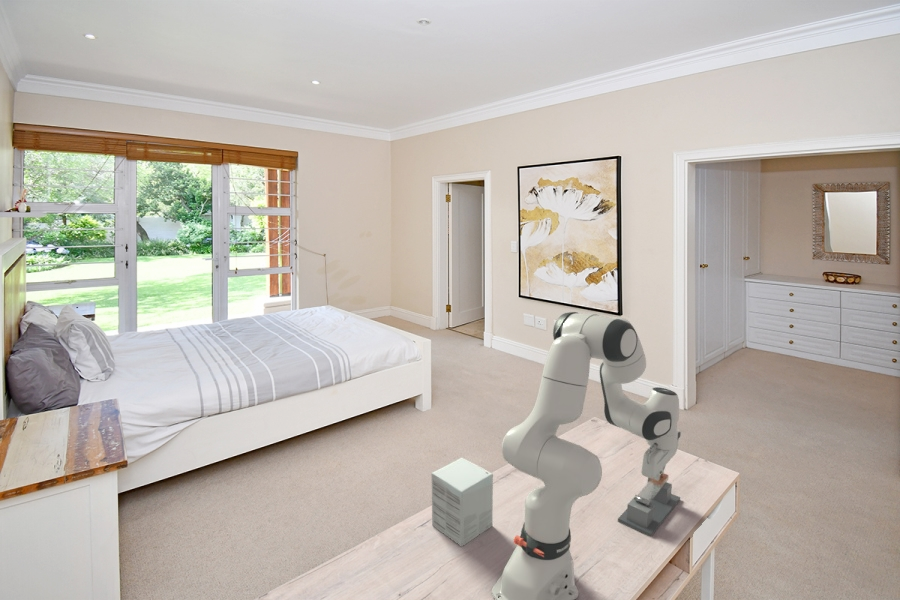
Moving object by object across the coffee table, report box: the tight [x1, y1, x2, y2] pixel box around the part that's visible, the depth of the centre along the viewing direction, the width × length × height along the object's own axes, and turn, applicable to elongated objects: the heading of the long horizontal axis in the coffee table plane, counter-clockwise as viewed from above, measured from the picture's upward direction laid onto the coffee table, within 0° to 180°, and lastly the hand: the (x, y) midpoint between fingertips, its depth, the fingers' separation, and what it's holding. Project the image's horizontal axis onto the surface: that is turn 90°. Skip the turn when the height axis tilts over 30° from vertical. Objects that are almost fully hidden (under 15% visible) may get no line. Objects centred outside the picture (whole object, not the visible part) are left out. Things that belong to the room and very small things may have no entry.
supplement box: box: [431, 457, 494, 547], centre depth 140 cm, size 13×13×18 cm
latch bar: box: [633, 473, 669, 506], centre depth 147 cm, size 17×4×2 cm, turn 135°
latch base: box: [617, 477, 681, 537], centre depth 147 cm, size 24×10×9 cm, turn 136°
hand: (658, 477), depth 149 cm, fingers closed
